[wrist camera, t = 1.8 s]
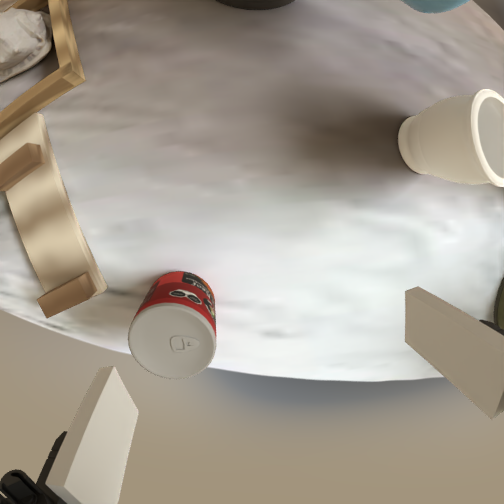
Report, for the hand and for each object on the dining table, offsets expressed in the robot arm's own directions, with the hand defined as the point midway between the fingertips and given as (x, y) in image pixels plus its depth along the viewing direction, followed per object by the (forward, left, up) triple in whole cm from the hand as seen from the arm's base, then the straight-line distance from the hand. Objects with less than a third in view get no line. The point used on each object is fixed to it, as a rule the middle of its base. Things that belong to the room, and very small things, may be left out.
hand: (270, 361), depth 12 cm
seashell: (-37, -18, -24) cm, 48 cm away
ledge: (-13, -20, -24) cm, 34 cm away
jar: (-3, +29, -24) cm, 38 cm away
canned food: (+4, -8, -24) cm, 25 cm away
